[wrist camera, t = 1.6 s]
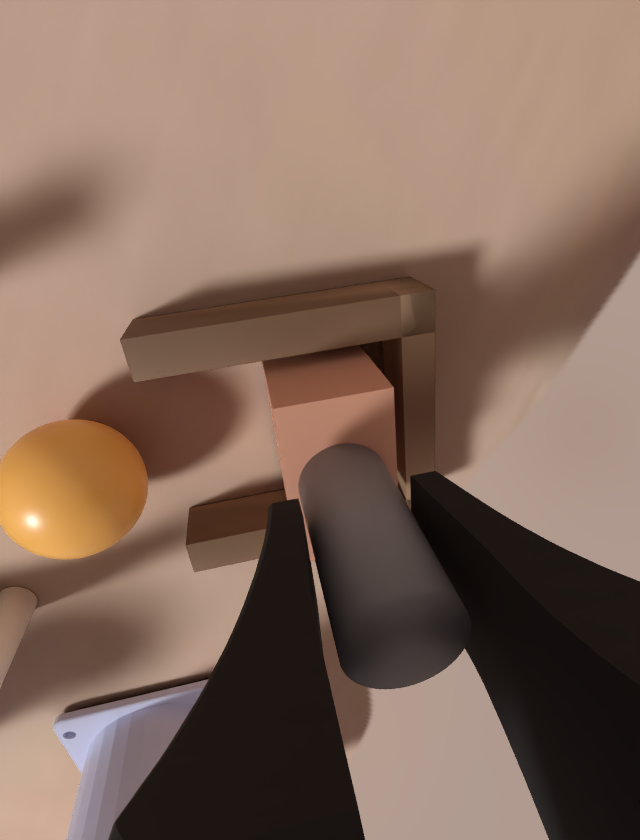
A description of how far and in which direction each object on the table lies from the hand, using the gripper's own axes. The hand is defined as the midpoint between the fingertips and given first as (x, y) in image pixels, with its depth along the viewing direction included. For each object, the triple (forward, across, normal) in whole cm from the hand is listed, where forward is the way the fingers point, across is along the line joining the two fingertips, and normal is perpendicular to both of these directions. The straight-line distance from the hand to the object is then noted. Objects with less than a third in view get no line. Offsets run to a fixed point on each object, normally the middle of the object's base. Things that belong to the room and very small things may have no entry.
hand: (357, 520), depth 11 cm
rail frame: (+6, +1, 0) cm, 6 cm away
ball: (+4, +8, 0) cm, 8 cm away
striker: (+6, 0, 0) cm, 6 cm away
